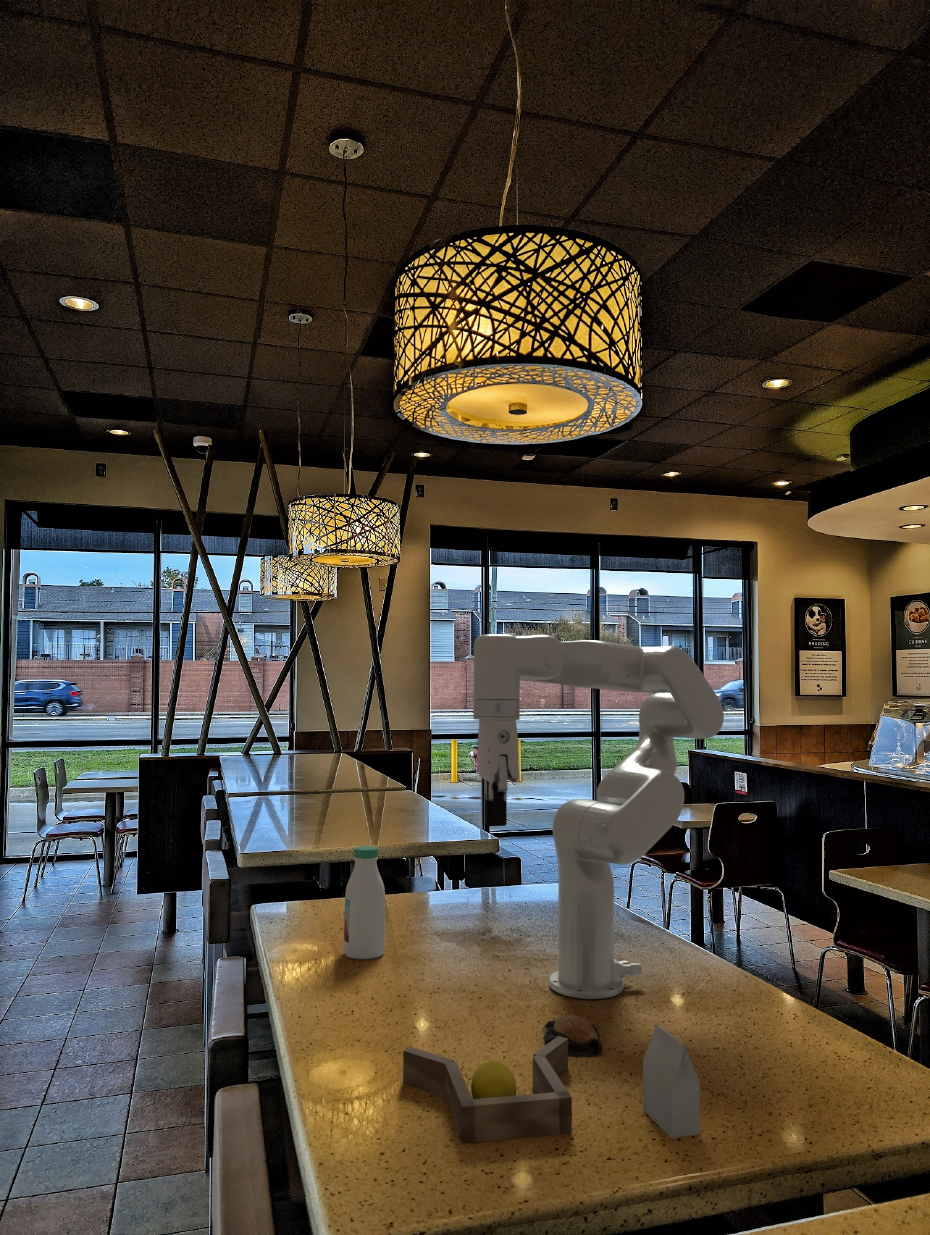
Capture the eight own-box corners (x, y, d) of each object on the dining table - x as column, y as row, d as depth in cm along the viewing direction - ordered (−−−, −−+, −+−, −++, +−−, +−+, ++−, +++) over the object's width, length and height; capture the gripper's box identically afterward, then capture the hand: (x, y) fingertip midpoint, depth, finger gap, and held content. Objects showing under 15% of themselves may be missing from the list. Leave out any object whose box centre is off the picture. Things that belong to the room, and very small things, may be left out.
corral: (565, 1065, 118) (565, 1035, 118) (610, 1129, 101) (610, 1093, 102) (401, 1078, 114) (402, 1047, 114) (420, 1147, 97) (421, 1110, 97)
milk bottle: (391, 951, 167) (393, 845, 168) (371, 963, 160) (372, 852, 161) (357, 945, 170) (359, 842, 172) (335, 957, 163) (337, 849, 165)
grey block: (671, 1138, 100) (671, 1048, 100) (643, 1110, 106) (642, 1026, 107) (699, 1134, 101) (699, 1045, 101) (669, 1106, 107) (669, 1023, 108)
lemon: (507, 1100, 109) (512, 1133, 101) (464, 1089, 109) (466, 1121, 101) (518, 1057, 110) (524, 1086, 102) (476, 1045, 110) (479, 1074, 102)
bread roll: (538, 1031, 131) (538, 1006, 131) (593, 1030, 132) (593, 1005, 132) (549, 1061, 121) (549, 1034, 121) (609, 1060, 121) (608, 1033, 121)
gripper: (531, 712, 134) (530, 832, 133) (507, 709, 149) (507, 817, 147) (483, 712, 132) (482, 834, 131) (464, 708, 147) (463, 818, 146)
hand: (495, 825), depth 139 cm, fingers closed
